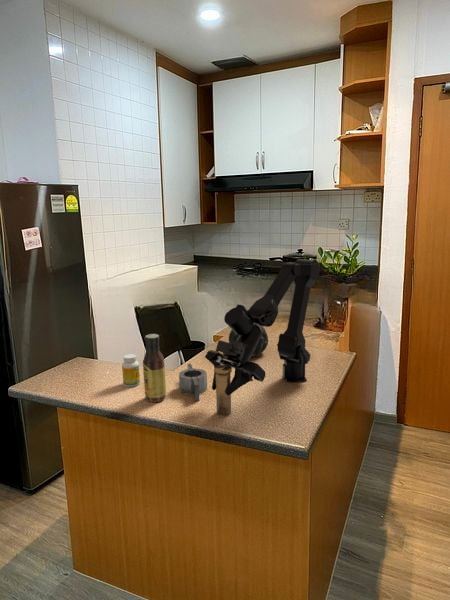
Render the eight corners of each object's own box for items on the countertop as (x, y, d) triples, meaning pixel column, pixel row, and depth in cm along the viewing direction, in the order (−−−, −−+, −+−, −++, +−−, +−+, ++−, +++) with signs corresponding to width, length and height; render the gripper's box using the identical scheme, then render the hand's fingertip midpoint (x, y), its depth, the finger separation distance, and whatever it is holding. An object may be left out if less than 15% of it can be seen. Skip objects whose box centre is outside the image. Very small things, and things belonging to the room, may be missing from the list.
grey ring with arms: (177, 379, 147) (176, 364, 146) (202, 376, 149) (201, 362, 148) (183, 402, 129) (182, 386, 128) (211, 399, 131) (211, 383, 130)
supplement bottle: (125, 381, 146) (123, 353, 144) (141, 380, 147) (139, 353, 145) (122, 387, 141) (119, 359, 139) (138, 387, 141) (136, 358, 139)
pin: (231, 408, 125) (230, 364, 122) (233, 416, 120) (232, 370, 118) (214, 409, 124) (213, 365, 122) (216, 417, 120) (215, 372, 117)
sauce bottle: (146, 395, 135) (142, 332, 131) (166, 393, 136) (163, 331, 132) (144, 404, 129) (139, 338, 125) (165, 403, 129) (162, 337, 125)
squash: (240, 331, 182) (231, 310, 171) (275, 335, 176) (268, 314, 165) (229, 361, 175) (219, 341, 163) (265, 367, 169) (258, 346, 158)
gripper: (208, 322, 127) (180, 369, 121) (258, 334, 114) (229, 387, 108) (228, 342, 134) (202, 388, 128) (277, 356, 121) (251, 407, 116)
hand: (219, 392), depth 120 cm, fingers open, 5 cm apart
